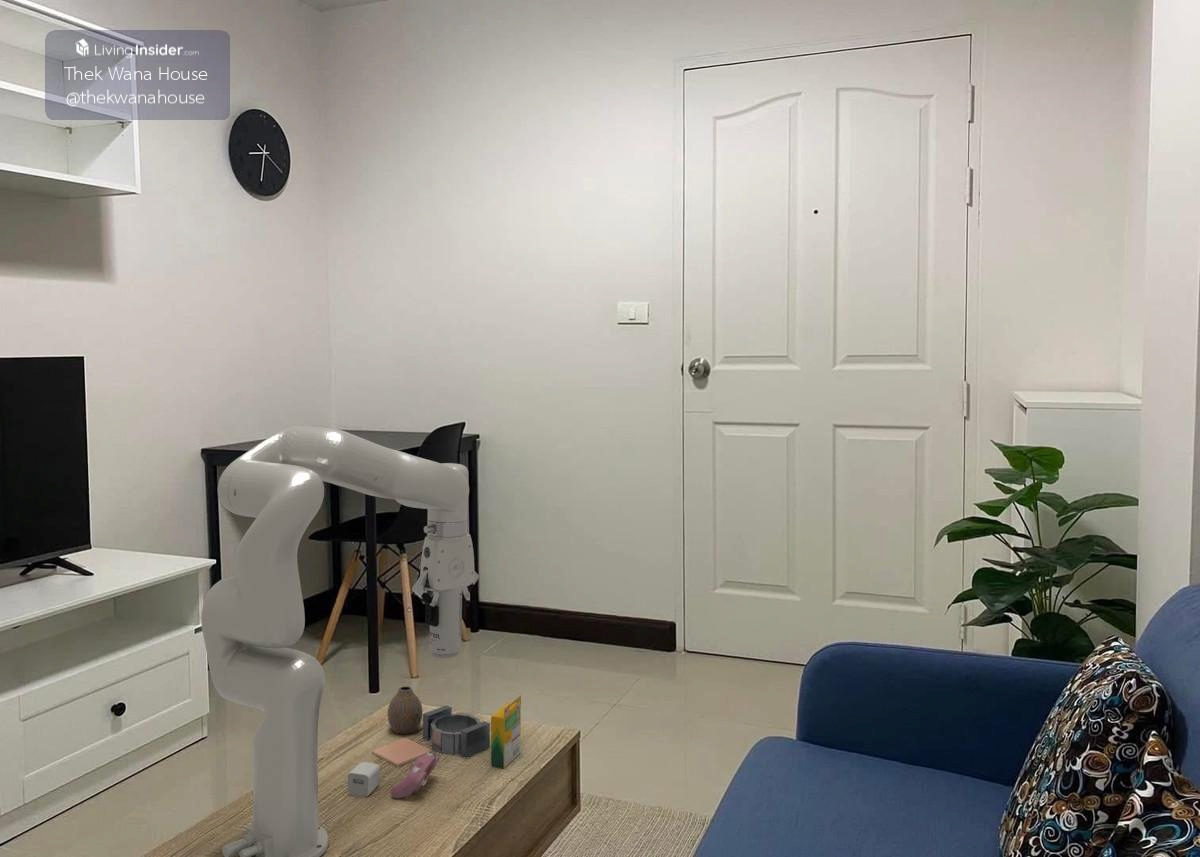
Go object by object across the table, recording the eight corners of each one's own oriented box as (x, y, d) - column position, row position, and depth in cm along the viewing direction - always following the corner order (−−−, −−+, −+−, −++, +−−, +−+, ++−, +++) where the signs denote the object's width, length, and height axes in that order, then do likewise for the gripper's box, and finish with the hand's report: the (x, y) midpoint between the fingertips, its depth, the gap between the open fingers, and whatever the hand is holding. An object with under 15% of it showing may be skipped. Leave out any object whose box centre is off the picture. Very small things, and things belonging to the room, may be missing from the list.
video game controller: (409, 810, 163) (426, 777, 162) (386, 796, 164) (404, 763, 163) (430, 784, 173) (447, 753, 172) (409, 770, 174) (426, 739, 172)
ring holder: (496, 745, 186) (496, 720, 186) (458, 761, 179) (459, 735, 178) (453, 726, 194) (453, 702, 194) (415, 740, 187) (415, 716, 186)
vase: (386, 724, 194) (386, 683, 193) (420, 721, 196) (420, 680, 195) (389, 739, 188) (389, 696, 187) (424, 735, 190) (424, 692, 189)
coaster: (397, 766, 176) (397, 764, 176) (371, 753, 181) (371, 750, 181) (431, 752, 182) (431, 750, 182) (405, 740, 187) (405, 738, 187)
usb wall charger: (347, 794, 165) (347, 772, 165) (366, 776, 172) (366, 755, 172) (368, 797, 164) (368, 775, 164) (386, 779, 171) (386, 757, 171)
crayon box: (506, 750, 184) (508, 692, 183) (521, 753, 183) (522, 694, 182) (489, 766, 177) (490, 706, 176) (504, 769, 176) (505, 708, 175)
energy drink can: (426, 650, 185) (427, 574, 184) (456, 647, 187) (458, 572, 186) (432, 660, 179) (434, 582, 178) (464, 657, 182) (465, 580, 180)
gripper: (423, 538, 172) (422, 635, 174) (494, 526, 185) (492, 616, 187) (398, 531, 177) (396, 626, 179) (469, 520, 190) (467, 608, 192)
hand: (445, 620), depth 183 cm, fingers closed on energy drink can, 6 cm apart
